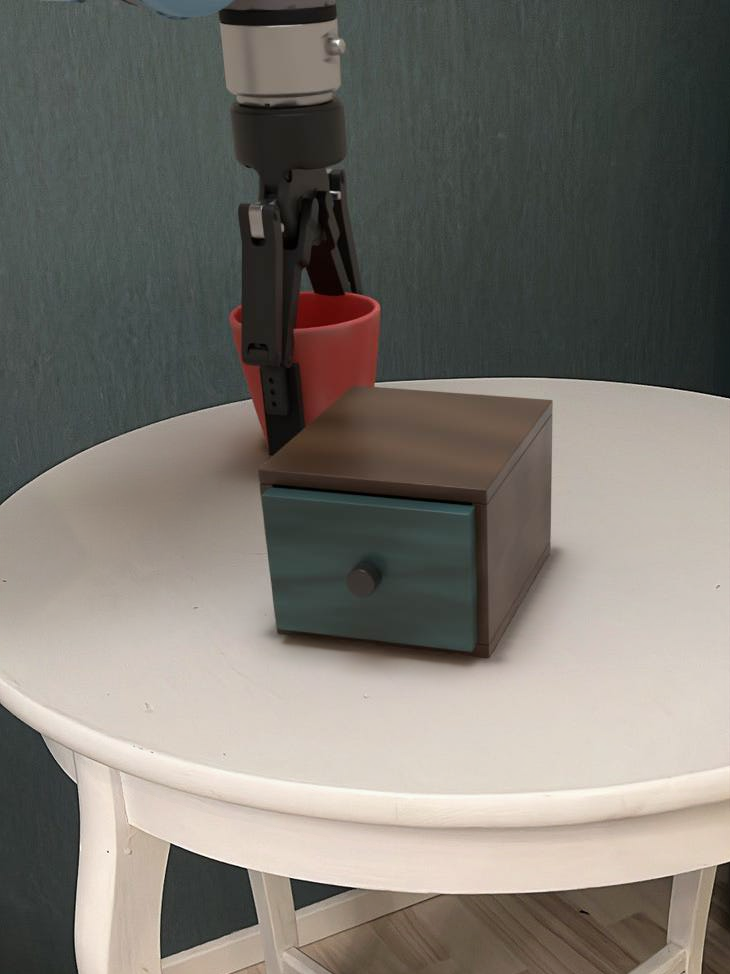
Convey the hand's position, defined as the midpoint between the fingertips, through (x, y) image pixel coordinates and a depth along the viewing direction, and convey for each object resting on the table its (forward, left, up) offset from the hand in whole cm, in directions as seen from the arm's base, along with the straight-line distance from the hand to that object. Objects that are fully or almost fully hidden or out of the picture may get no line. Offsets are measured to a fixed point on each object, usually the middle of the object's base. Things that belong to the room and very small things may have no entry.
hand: (316, 430), depth 102 cm
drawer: (+26, -14, 0) cm, 30 cm away
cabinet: (+25, -12, -1) cm, 28 cm away
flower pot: (0, 0, -1) cm, 1 cm away
